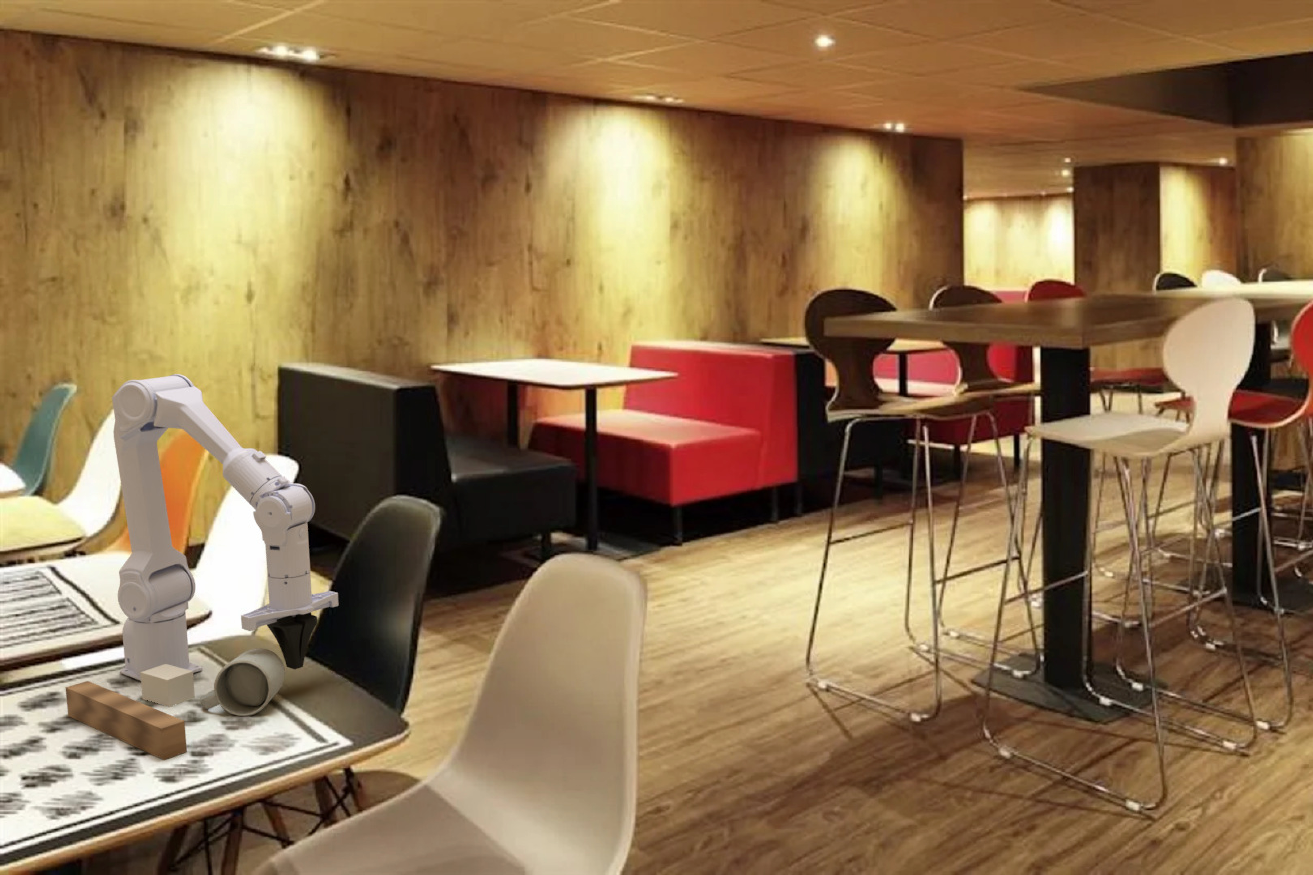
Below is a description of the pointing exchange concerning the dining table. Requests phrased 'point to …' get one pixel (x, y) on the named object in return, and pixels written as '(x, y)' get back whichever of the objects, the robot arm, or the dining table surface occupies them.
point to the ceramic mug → (247, 683)
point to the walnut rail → (127, 719)
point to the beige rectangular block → (167, 685)
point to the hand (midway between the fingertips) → (294, 666)
